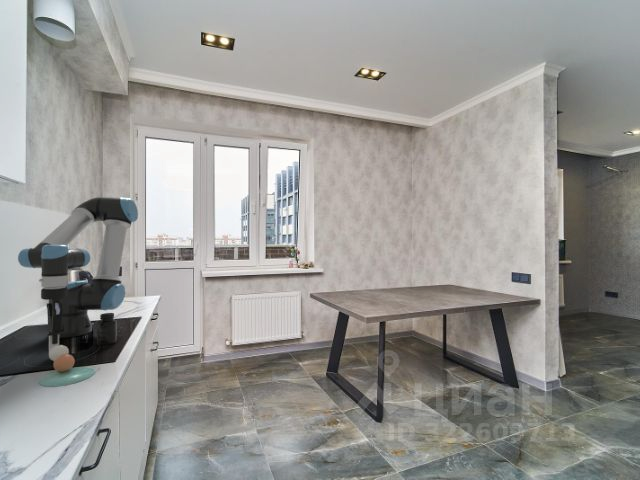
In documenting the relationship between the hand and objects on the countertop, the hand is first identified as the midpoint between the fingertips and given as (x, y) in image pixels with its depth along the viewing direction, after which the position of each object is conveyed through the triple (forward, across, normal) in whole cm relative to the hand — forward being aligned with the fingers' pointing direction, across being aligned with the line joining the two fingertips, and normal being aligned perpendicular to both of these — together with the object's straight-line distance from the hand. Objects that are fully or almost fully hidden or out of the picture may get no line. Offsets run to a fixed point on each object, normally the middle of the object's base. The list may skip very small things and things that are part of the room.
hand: (53, 352), depth 119 cm
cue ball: (-1, +6, 0) cm, 6 cm away
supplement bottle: (+2, -5, +18) cm, 19 cm away
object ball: (-1, +17, 0) cm, 17 cm away
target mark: (+2, +23, 0) cm, 23 cm away
